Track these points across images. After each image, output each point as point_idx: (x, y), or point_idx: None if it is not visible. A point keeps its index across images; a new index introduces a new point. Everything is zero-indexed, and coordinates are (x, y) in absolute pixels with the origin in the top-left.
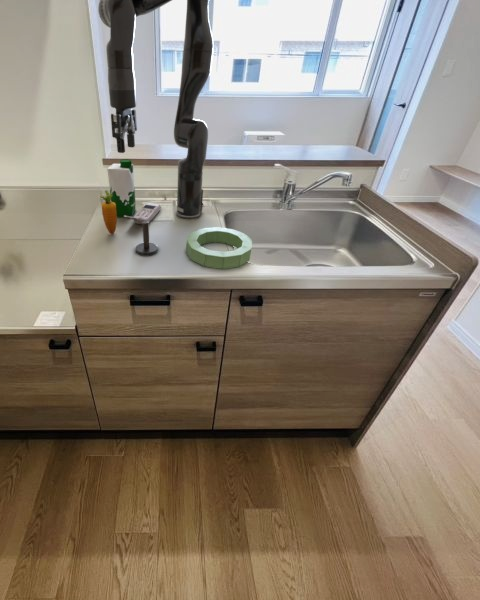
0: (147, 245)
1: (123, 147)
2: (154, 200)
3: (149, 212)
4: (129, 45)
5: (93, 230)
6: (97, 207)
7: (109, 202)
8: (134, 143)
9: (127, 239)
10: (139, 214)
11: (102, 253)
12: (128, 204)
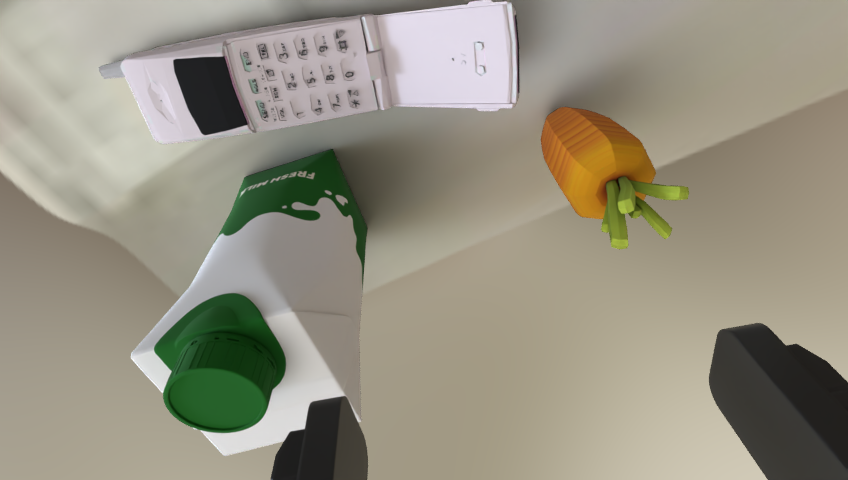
0: None
1: (812, 377)
2: (30, 171)
3: (276, 56)
4: None
5: (539, 213)
6: None
7: (626, 180)
8: (313, 436)
9: (579, 13)
10: (335, 97)
11: (749, 39)
12: (329, 188)
